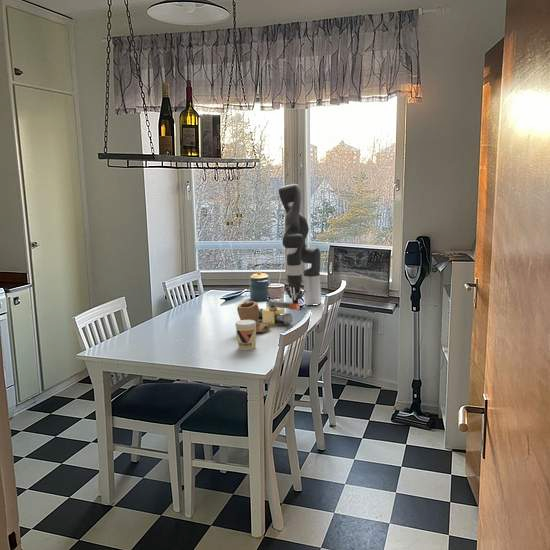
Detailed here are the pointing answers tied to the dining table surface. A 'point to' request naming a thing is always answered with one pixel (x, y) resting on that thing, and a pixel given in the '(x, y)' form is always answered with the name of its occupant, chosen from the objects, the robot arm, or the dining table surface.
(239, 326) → the coffee cup
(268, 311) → the valve pipe
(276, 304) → the lever
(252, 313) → the stone cup
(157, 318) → the dining table surface
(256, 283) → the canister
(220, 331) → the dining table surface
